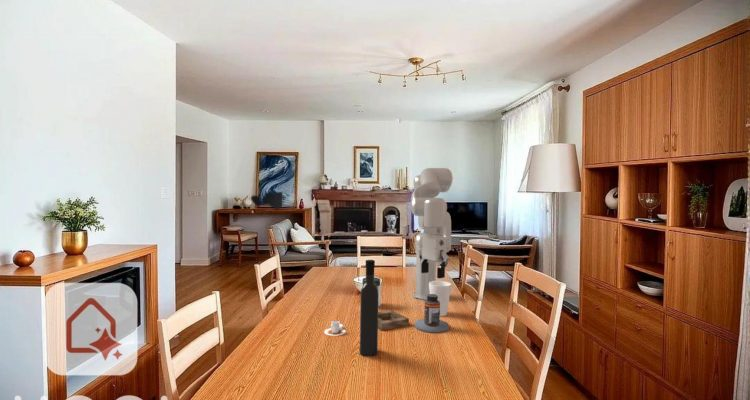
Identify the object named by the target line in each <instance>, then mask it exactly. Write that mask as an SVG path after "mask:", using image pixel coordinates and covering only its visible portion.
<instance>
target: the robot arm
mask: <svg viewBox="0 0 750 400" xmlns="http://www.w3.org/2000/svg"><path fill="white" fill-rule="evenodd" d="M452 185H453V173H452V171H451V170H450V169H449V168H448V167H447V168H446V167H426V168H424V169H423V170H422V171H421V172H420V174H418V175H416V176H415V177H414V178H413V189H414V190H413V191H412V193H411V196H410V211H411V213H412V215H414V216H416V217H418V218H417V221H418V222H417V223H418V227H419V228H420V230H423V232H420V233H418V234H416V236H415V238H414V243H415V245H414V246H415V253H416V255H415V257H416V261H415V263H416V265H415V269H416V270H415V271H416V272H415V273H416V274H415V291H414V292H413V293H412V297H413V298H415V299H419V300H423V301H424V300H427V295H428V294H430V290H429V282H432V281H437V280H436V278H437V279H444V278H446V277H445V276H446V272H445V271H446V268H447V265H448V262H449V260H450V257H449V255H448V254H447V253H449V252H450V251H451V248H452V219H451V215H450V213H449V212H448V211H447V210H448V204H447V201H446V200H445V199H444V198H443V197H438V196H439V194H441V193H448V191H449V190H450V188H451V187H452ZM437 266H438V267H437Z"/></svg>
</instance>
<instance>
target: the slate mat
mask: <svg viewBox="0 0 750 400" xmlns="http://www.w3.org/2000/svg"><path fill="white" fill-rule="evenodd" d="M449 326H450V325H449V323H448V322H446V321H445V320H442V319H440V322H439V325H437V326H428V325H426V324H425V323H424V318H422V319H418V320H416V321H415V322H414V328H415V329H417V330H418V331H420V332H423V333H428V334H429V333H430V334H440V333H444V332H447V331H449V329H450V327H449Z"/></svg>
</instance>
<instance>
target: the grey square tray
mask: <svg viewBox="0 0 750 400" xmlns="http://www.w3.org/2000/svg"><path fill="white" fill-rule="evenodd" d="M409 325H410V318H408V317H406V316H405V315H403V314H401V313H399V312H396V311H395V310H392V309H389V310H384V311H378V330H380V331H385V330H386V331H387V330H390V329H391V330H392V329H396V328H400V327H405V326H409Z"/></svg>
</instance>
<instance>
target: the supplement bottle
mask: <svg viewBox="0 0 750 400" xmlns="http://www.w3.org/2000/svg"><path fill="white" fill-rule="evenodd" d="M437 299H438V295H436V294H428V295H427V300H425V301H424V313H423V314H424V315H423V319H424V323H425V324H426V325H428V326H437V325H439V322H440V320H441V319H440V318H441V316H440V302H439V301H438V300H437Z"/></svg>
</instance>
